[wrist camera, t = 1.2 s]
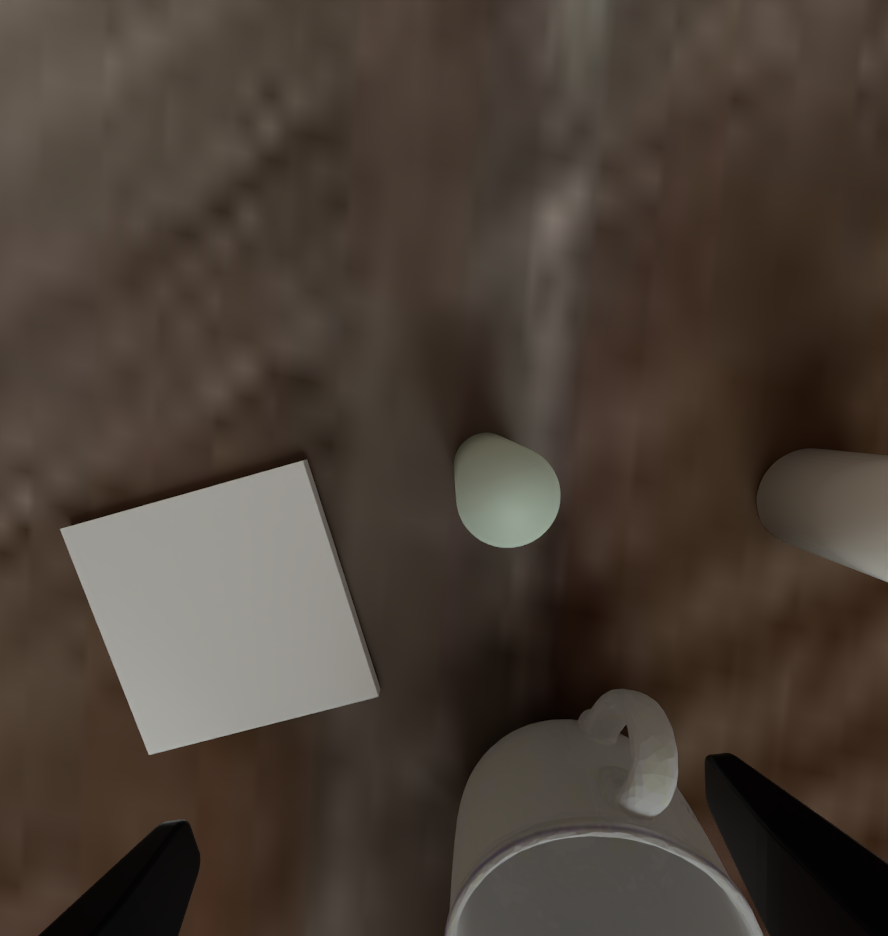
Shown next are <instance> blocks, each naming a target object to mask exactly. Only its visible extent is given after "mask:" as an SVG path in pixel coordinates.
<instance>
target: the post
mask: <svg viewBox="0 0 888 936" xmlns="http://www.w3.org/2000/svg"><path fill="white" fill-rule="evenodd" d="M454 476H455V491H456V504H457V509H458V513H459V516H460V518H461V520H462V522H463V524H464V525H465V527H466V528H467V529H468V530H469V531H470V532H471V534H473V535H474V536H475V537H476V538H478V539H479V540H481V541H482V542H485V543H487V544H489V545H492V546H496V547H502V548H513V547H519V546H523V545H526V544H528V543H531V542H533V541H534V540H536V539H538V538H539V537H540V536H542V535H543V534H544V533H545V532H546V531H547V530H548V529H549V527H550V526H551V525H552V523H553V521H554V520H555V518H556V515H557V513H558V510H559V505H560V497H561V496H560V486H559V482H558V479H557V476H556V474H555V472H554V470H553V469H552V467H551V466H550V464H549V463H548V462H547V461H546V460H545V459H544V458H543V457H542V456H540V455H539V454H537V453H536V452H534V451H532V450H530V449H528V448H526V447H523V446H521V445H519V444H517V443H515V442H513V441H510V440H508V439H506V438H504V437H502V436H499V435H497V434H494V433H479V434H476V435H473V436H471V437H469V438H468V439H466V440H465V441H464V442H463V443H462V444H461V445H460V447H459V448H458V450H457V452H456V455H455V458H454Z"/></svg>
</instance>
